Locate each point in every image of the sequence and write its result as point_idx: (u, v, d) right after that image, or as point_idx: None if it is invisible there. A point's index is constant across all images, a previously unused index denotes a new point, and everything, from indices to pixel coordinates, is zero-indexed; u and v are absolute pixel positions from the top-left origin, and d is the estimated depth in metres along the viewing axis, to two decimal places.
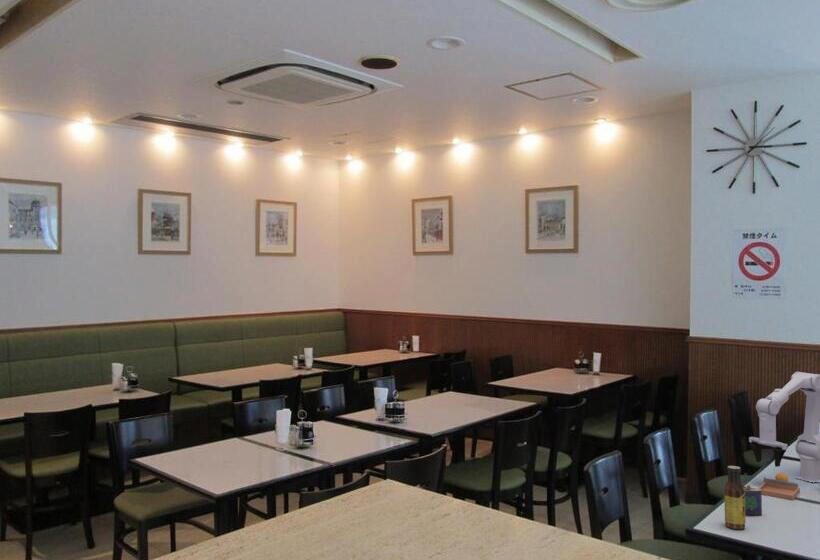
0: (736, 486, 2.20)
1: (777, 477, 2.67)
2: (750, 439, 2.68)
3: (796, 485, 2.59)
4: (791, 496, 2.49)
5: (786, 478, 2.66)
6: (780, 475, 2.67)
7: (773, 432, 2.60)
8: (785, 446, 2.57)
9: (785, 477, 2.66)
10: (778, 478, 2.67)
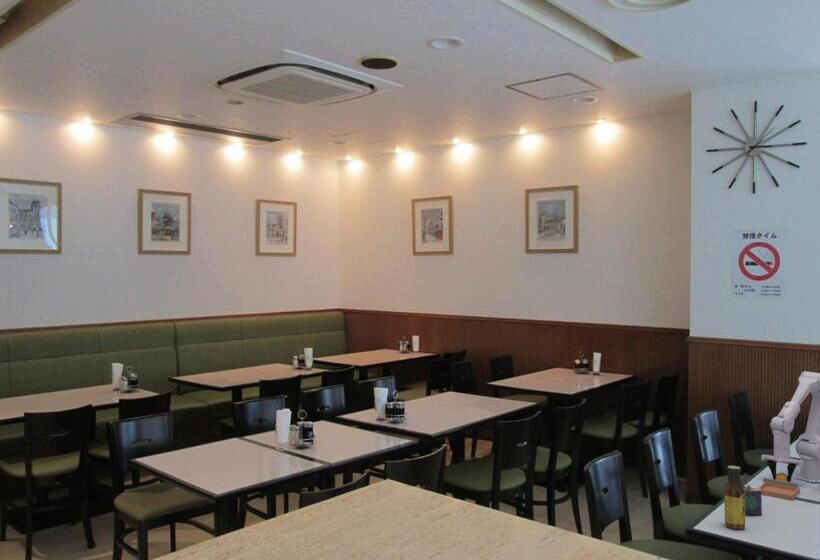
0: (736, 486, 2.20)
1: (777, 477, 2.67)
2: (763, 457, 2.71)
3: (796, 485, 2.59)
4: (791, 496, 2.49)
5: (786, 478, 2.66)
6: (780, 475, 2.67)
7: (789, 449, 2.65)
8: (802, 463, 2.63)
9: (785, 477, 2.66)
10: (778, 478, 2.67)
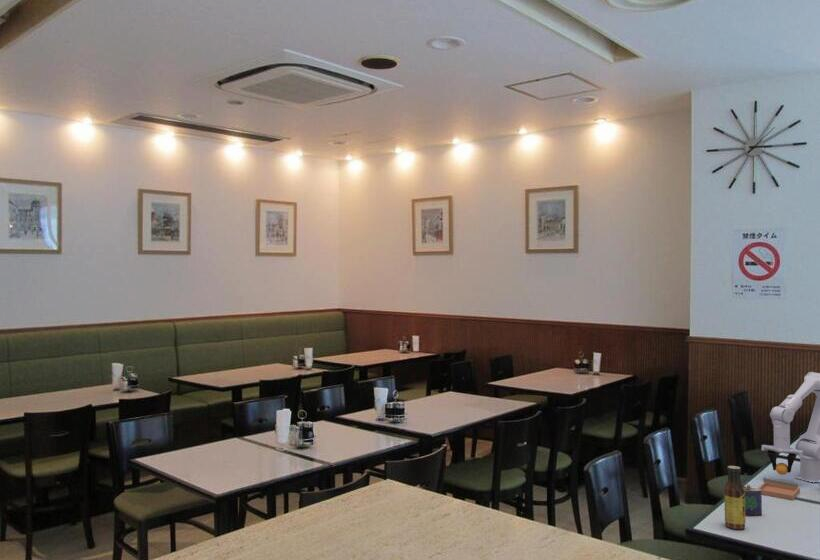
0: (736, 486, 2.20)
1: (777, 467, 2.67)
2: (763, 447, 2.71)
3: (796, 485, 2.59)
4: (791, 496, 2.49)
5: (786, 468, 2.66)
6: (780, 465, 2.67)
7: (789, 439, 2.65)
8: (802, 452, 2.63)
9: (785, 467, 2.66)
10: (778, 468, 2.67)
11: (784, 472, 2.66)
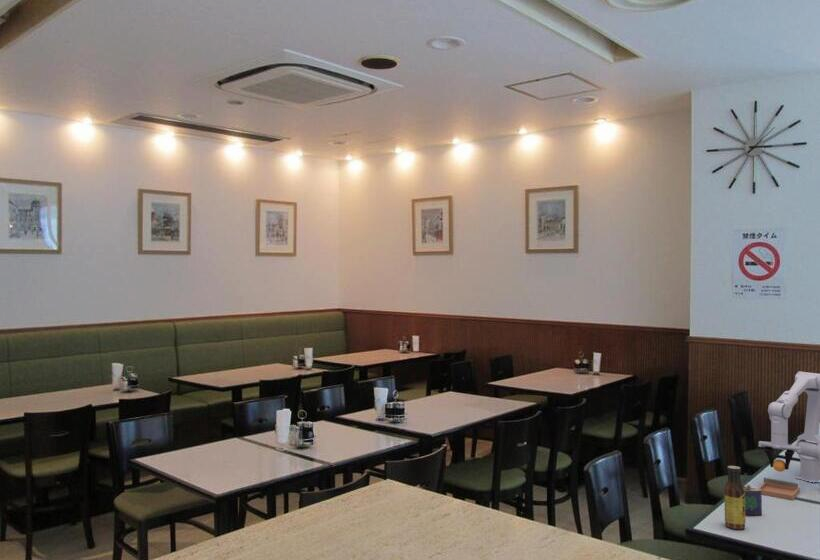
0: (736, 486, 2.20)
1: (774, 464, 2.61)
2: (760, 443, 2.65)
3: (796, 485, 2.59)
4: (791, 496, 2.49)
5: (784, 465, 2.59)
6: (777, 462, 2.60)
7: (786, 435, 2.59)
8: (800, 449, 2.56)
9: (783, 464, 2.59)
10: (775, 465, 2.60)
11: (781, 469, 2.59)
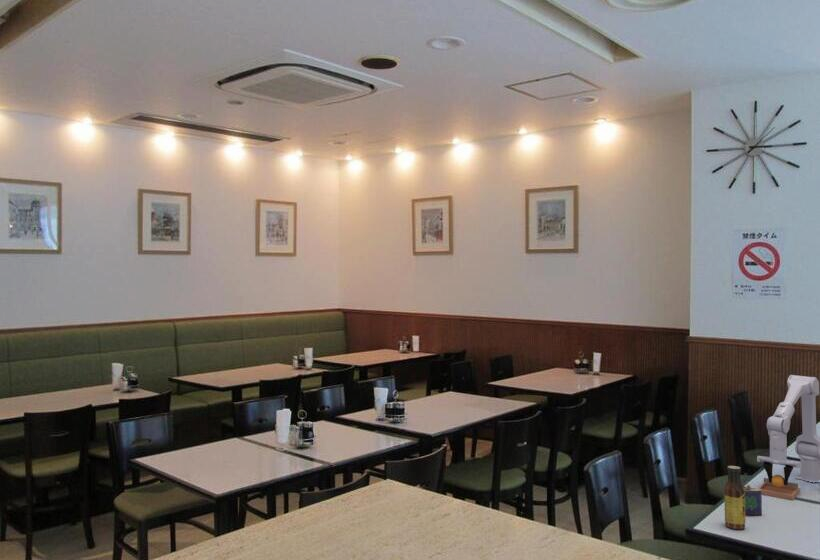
0: (736, 486, 2.20)
1: (773, 479, 2.56)
2: (758, 458, 2.61)
3: (796, 485, 2.59)
4: (791, 496, 2.49)
5: (783, 480, 2.55)
6: (776, 477, 2.56)
7: (785, 450, 2.55)
8: (799, 464, 2.52)
9: (781, 479, 2.55)
10: (774, 480, 2.56)
11: (780, 484, 2.55)
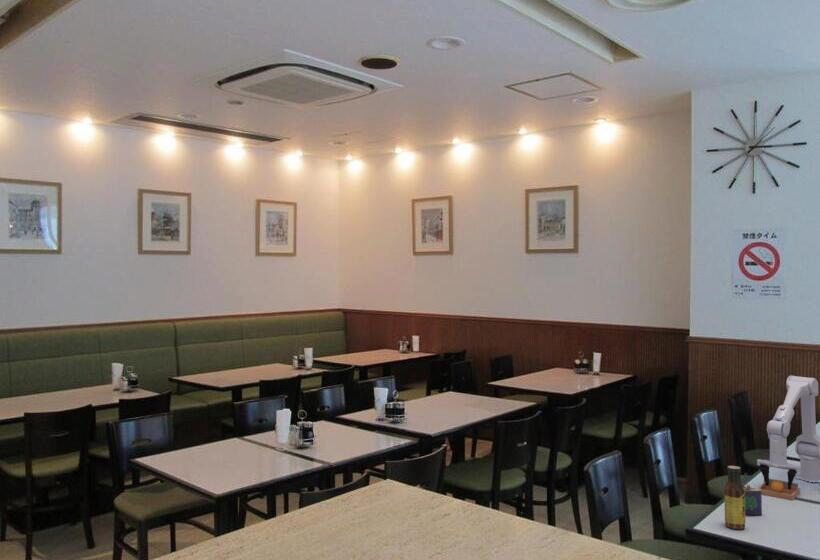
0: (736, 486, 2.20)
1: (772, 485, 2.57)
2: (758, 462, 2.61)
3: (796, 485, 2.59)
4: (791, 496, 2.49)
5: (782, 485, 2.55)
6: (775, 482, 2.56)
7: (785, 454, 2.55)
8: (799, 468, 2.52)
9: (780, 484, 2.55)
10: (773, 486, 2.56)
11: (780, 489, 2.55)
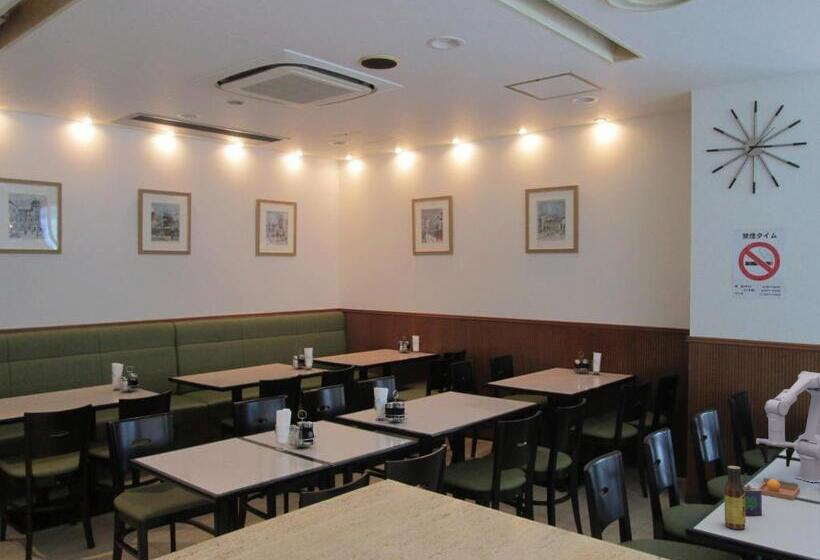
0: (736, 486, 2.20)
1: (768, 486, 2.58)
2: (757, 441, 2.68)
3: (796, 485, 2.59)
4: (791, 496, 2.49)
5: (775, 481, 2.57)
6: (769, 482, 2.58)
7: (784, 432, 2.62)
8: (797, 446, 2.60)
9: (773, 481, 2.57)
10: (769, 486, 2.57)
11: (776, 486, 2.56)
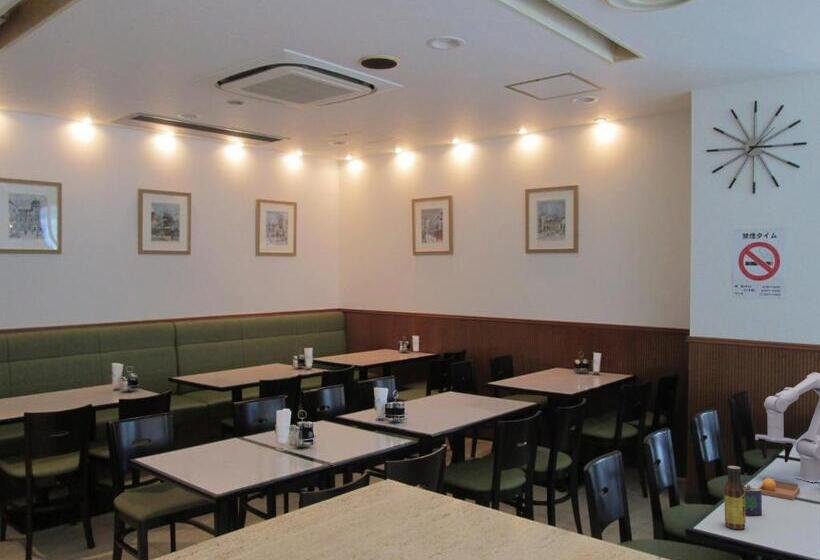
0: (736, 486, 2.20)
1: (765, 488, 2.58)
2: (757, 437, 2.73)
3: (796, 485, 2.59)
4: (791, 496, 2.49)
5: (767, 480, 2.58)
6: (763, 484, 2.59)
7: (782, 429, 2.67)
8: (795, 442, 2.64)
9: (766, 480, 2.59)
10: (766, 487, 2.58)
11: (771, 483, 2.57)
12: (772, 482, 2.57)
